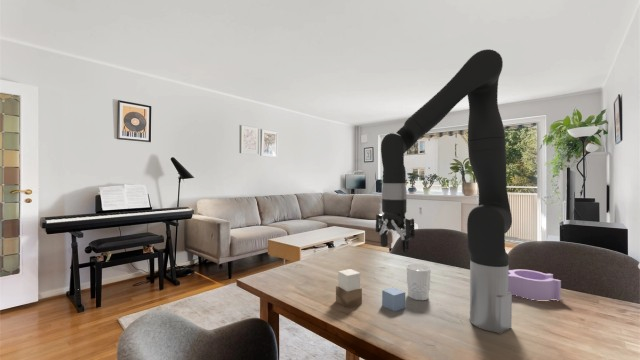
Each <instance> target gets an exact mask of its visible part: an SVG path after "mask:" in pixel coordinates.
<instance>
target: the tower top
mask: <svg viewBox="0 0 640 360" xmlns="http://www.w3.org/2000/svg"><path fill="white" fill-rule="evenodd" d="M337 272H338V284H337V286H338V287H340V288H342V289H344V290H345V291H347V292H348V291H352V290H356V289H360V288H361V273H360V272H359V271H357V270H354V269H351V268H347V269H344V270H338V271H337Z"/></svg>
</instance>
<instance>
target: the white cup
mask: <svg viewBox="0 0 640 360" xmlns="http://www.w3.org/2000/svg"><path fill="white" fill-rule="evenodd" d="M431 269H432V268H431V267H430V266H428V265H426V264H419V263H412V264H411V263H410V264H407V265H406V285H407V295H408V297H409V298H410V299H412V300H416V301H426V300H428V299H429V298H430V290H431V289H430V288H431V287H430V286H431V273H432V270H431Z"/></svg>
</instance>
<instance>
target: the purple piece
mask: <svg viewBox="0 0 640 360" xmlns="http://www.w3.org/2000/svg"><path fill="white" fill-rule="evenodd" d="M561 288H562V280H560V279H558V278H557V279H556V278H554V274H553V273H544V272H541V271H537V270H531V269H518V268H517V269H508V292H511V293H512V295H517V296H521V297H524V298H528V299H534V300H551V299H557V300H561V298H562V297H561V294H562V289H561ZM517 296H516V297H517Z"/></svg>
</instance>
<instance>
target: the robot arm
mask: <svg viewBox="0 0 640 360" xmlns="http://www.w3.org/2000/svg"><path fill="white" fill-rule="evenodd" d="M503 66H504V65H503V57H502V55H501V54H500V53H499V52H497V51H496V50H494V49H482V50H479V51H477V52H475V53H473V54H472V55H471V56H470V57H469V59H467V61H465V63H464V64H463V65H462V67H461V68H459V70H458V71H457V73H456V74H454V75H453V77H452V78H451V79H450V80H449V81H448V82H447V83H446V84H445V85H444V86H443V87H442V88H441V89H440V90H439V91H437V93H436V94H434V96H432V97H431V98H430V99H429V100H428V101H427V102H425V103H424V104H423V105H421V107H420V108H419V109H417V110H416V111H415V112H414V113H413V114H412V115H410V116H409V117H408V118H407V119H406V120H405V122H404V125H403V126H401V128H399V129H398V130H397V131H396V132H389V133H388V134H386V135H385V136H384V137H383V138H382V140H381V144H380V155H381V161H382V162H381V164H382V188H381V212H382V213H379V214H376V215H375V233H378V234H379V235H380V245H381V247H382V248H385V247H388V239H389V238H388V233H389V231H392V230H393V231H394V232H395V231H396V233H397V234H398V235H399V237H400V238H401V240H400V245H401V246H400V251H401V253H408V252H409V249H410V240H411V239H412V240H413V239H415V237H416V235H415V234H416V233H415V218H413V217H411V218H406V213H407V205H408V204H407V203H408V202H407V198H408V197H407V184H406V181H407V180H406V178H407V176H406V174H407V173H406V167H405V160H404V159H405V158H404V157H405V153H406V152H408V151H409V150H410V149H411V148H412V147H413V146H414V145H415V144H416V143H417V141H419V140H420V139H421V138H422V137H424V136H425V135H427V134H428V133H429V132H430V131H431V130H433V128H435V127H436V126H437V125H438V124H439V123H440V122H441V121H442V120H443V119H444V118H445V117H446V116H447V115H448V114H449V113H450V112H451V111H452V110H453V109H454V107H455V106H457V105H458V104H459V103H460V102H461V101H462V100H463V99H464V98H465V97H467V99H468V112H469V114H468V120H467V121H468V122H467V124H468V125H467V150H468V158H469V159H468V160H469V164H470V167H471V169H472V172H473V175H474V177H475V180H476V183H477V191H478V205H477V206H476V207H473V208H472V209H471V210H470V212H469V214H468V216H467V220H466V221H467V223H466V228H467V229H466V235H467V237H466V238H467V249H468V253H469V256H470V260H469V261H470V262H469V263H470V265H469V266H470V267H469V270H470V271H469V272H470V273H469V276H470V277H469V321H470V323H471V324H472V325H474V326H475V327H477V328H479V329H481V330H485V331H487V332H495V333H497V334H502V333H504V332H506V331H508V330H510V329H511V328H512V324H513V323H512V321H513V320H512V316H513V315H512V313H513V312H512V311H513V309H512V307H513V305H512V304H513V301H512V300H513V298H512V297H513V296H512V293H511V292H508V270H509V268H510V267H509V263H510V262H509V261H510V260H509V258H510V257H509V254H508V253H507V252H506V237H505V236H506V235H505V234H506V233H508V231H509V230H510V229H511V227H512V225H513V217H512V210H511V206H510V200H509V196H508V195H509V194H508V186H507V145H506V134H505V127H504V124H503V120H502V117H501V113H500V109H499V104H498V94H499V93H498V89H499V87H498V86H499V80H500V79H499V78H500V76H501V74H502V70H503ZM509 328H510V329H509Z"/></svg>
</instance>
